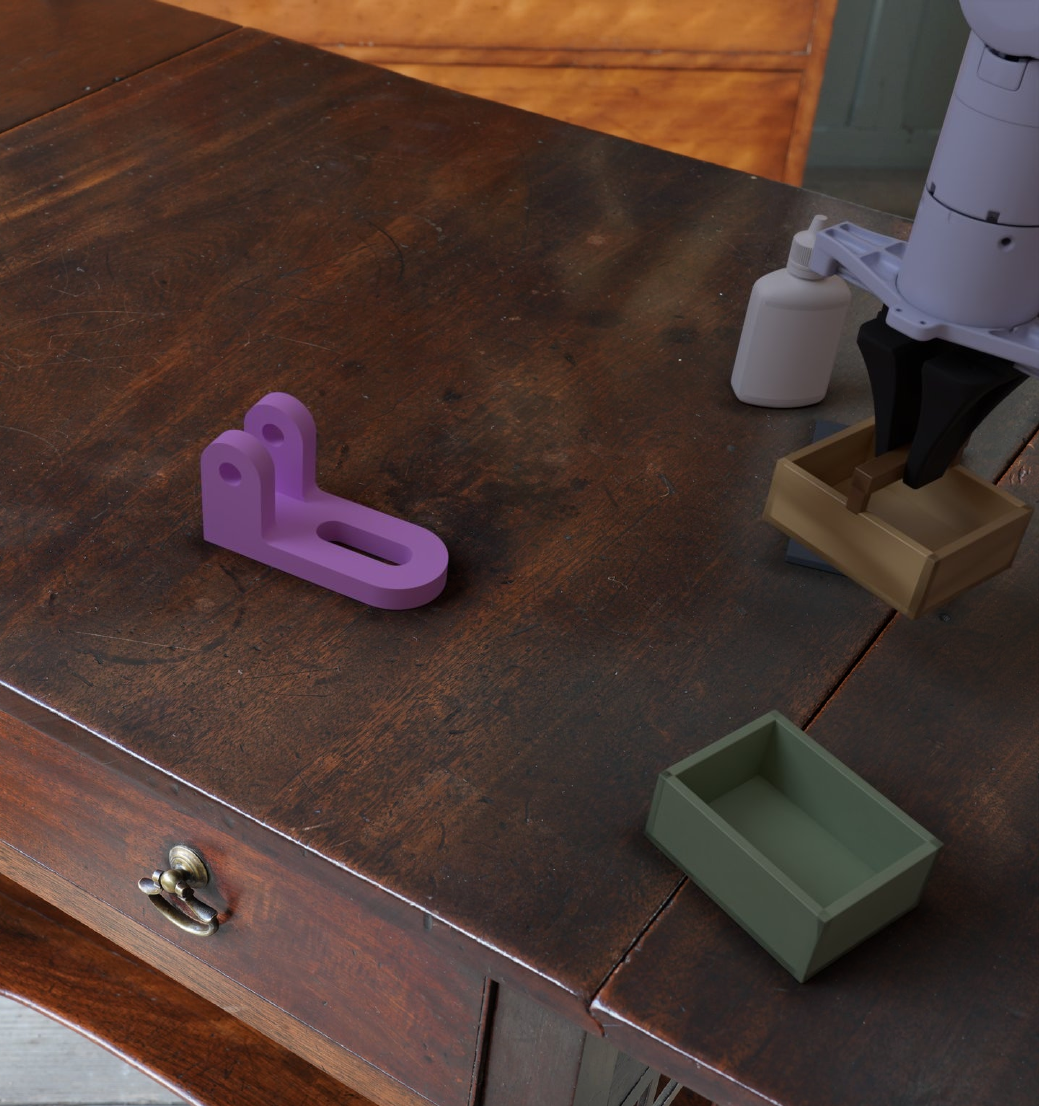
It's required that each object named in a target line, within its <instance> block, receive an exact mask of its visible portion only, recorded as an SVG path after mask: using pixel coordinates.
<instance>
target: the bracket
mask: <svg viewBox="0 0 1039 1106" xmlns="http://www.w3.org/2000/svg"><path fill="white" fill-rule="evenodd" d="M316 460H317V426H316V423H315V420H314V418H313V415H312V414H311V412H310V410H308V408H307V407H306V405H304V404H303V402H301V401H300V400H299V399H298V398H296V397H294V396H293V395H291V394H288V393H286V392H280V391H276V392H275V391H274V392H269V393H268V394H266V395H264V397H262V398H261V399H260V400H259V401H257V402H256V403H255V404H254V405H253V406H252V407H251V408H250V409H249V410H247V412H246V414H245V416H244V419H243V430H240V429H229V430H225V431H223V432H222V433H221V434H219V436H217V437H216V438H214V440H213V441H212V442H210V443H209V444H208V445H207V446H206V447H205V448H204V449H203V451H202V453H201V455H200V480H201V482H200V483H201V504H202V525H203V526H202V527H203V540H204V541H206V542H209V543H211V544H214V545H217V546H219V547H221V548H224V549H226V550H228V551H232V552H234V553H236V554H239V555H242V556H244V557H247V558H249V559H251V560H255V561H256V562H260V563H262V564H265V565H267V566H270V567H272V568H275V569H277V570H280V571H282V572H285V573H287V574H289V575H292V576H295V577H297V578H300V579H303V580H305V581H308V582H310V583H312V584H315V585H317V586H320V587H322V588H325V589H328V590H330V591H333V592H335V593H338V594H341V595H343V596H345V597H349V598H350V599H354V600H356V601H359V602H361V603H363V604H366V605H368V606H371V607H374V608H379V609H384V610H393V611H394V610H396V611H397V610H398V611H399V610H400V611H401V610H411V609H414V608H415V609H416V608H418V607H422V606H425V605H426V604H428V603H430V602H432V601H433V600H435V599H436V598H437V597H438V596H440V595H441V594H442V593H443V590H444V589H445V586H446V584H447V578H448V567H449V565H448V564H449V551H448V548H447V547H446V545H445V543H444V541H442V539H441V538H440V537H439V536H437V534H435V533H433V532H432V531H430V530H429V529H426V528H425V527H423V526H420V525H417V524H415V523H411V522H408V521H407V520H403V519H400V518H398V517H395V516H392V515H391V514H390V515H389V514H386V513H384V512H381V511H379V510H376V509H374V508H370V507H367V506H364V505H362V504H359V503H356V502H354V501H352V500H348V499H346V498H343V497H340V496H338V495H335V494H332V493H329V492H327V491H323V490H322V489H321V488H319V487H318V485H317V482H316V474H317V473H316V469H317V467H316V466H317V465H316V463H317V461H316ZM332 542H337V543H342V544H344V545H347V546H350V547H352V548H355V549H358V550H360V551H363V552H366V553H368V554H371V555H374V556H377V557H379V558H381V559H383V560H386V561H389V562H392V563H395V564H397V565H393V564H392V565H391V564H388V563H385V562H382V561H380V560H377V559H374V558H371V557H369V556H366V555H364V554H361V553H359V552H356V551H353V550H351V549H348V548H346V547H343V546H340V545H338V544H334V543H332Z"/></svg>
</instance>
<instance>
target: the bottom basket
mask: <svg viewBox="0 0 1039 1106" xmlns="http://www.w3.org/2000/svg"><path fill="white" fill-rule="evenodd" d="M655 782H656V783H655V787H654V791H653V795H652V799H651V804H650V807H649V812H648V816H647V820H646V824H645V829H644V833H643V836H645V837H646V839H647V840H648V841H650V842H651V843H652V844H653V846H655V847H656V849H658V850H659V851H660V852H661V853H662V854H664V855H665V857H667V858H668V859H669V860H670V861H671V862H672V863H673V864H674V865H675V866H676V867H677V868H678V869H679V870H680V871H681V872H682V873H684V875H686V876H687V877H688V878H689V879H690V880H691V881H692V882H693V883H694V884H695V885H696V886H697V887H698V888H699V889H700V890H701V891H703V892H704V893H705V894H706V895H707V896H708V897H709V898H710V899H711V900H712V901H713V902H714V903H715V904H716V905H717V906H718V907H719V908H721V909H722V911H724V912H725V913H726V914H727V915H728V916H730V918H731V919H732V920H733V921H734V922H735V923H736V924H738V926H739V927H741V928H742V930H744V932H746V933H747V934H748V935H749V936H750V937H751V938H753V940H755V941H756V943H758V944H759V946H760V947H762V948H763V949H764V950H765V951H766V952H767V953H768V954H769V955H770V956H771V957H773V958H774V960H776V961H777V962H778V963H779V964H780V965H781V967H783V968H784V969H785V970H786V971H787V972H789V973H790V975H791V976H793V978H795V980H797V981H798V983H800V984H804V983H805V982H807V981H809V980H810V979H812V978H813V977H814V976H816V975H817V974H819V973H820V972H822V971H824V970H825V969H826V968H828V967H829V966H830V965H832V964H834V963H835V962H837V961H838V960H839V959H841V958H842V957H844V956H846V955H847V954H848V953H850V952H851V951H853V950H854V949H856V948H857V947H859V946H860V945H862V944H863V943H865V942H866V941H868V940H869V939H871V938H872V937H874V936H875V935H877V934H878V933H880V932H881V931H883V930H884V929H886V928H887V927H889V926H891V924H893V923H894V922H896V921H897V920H899V919H900V918H902V917H904V916H905V915H906V914H908V913H909V912H911V911H912V910H914V909H915V908H917V907H918V906H919V903H920V901H921V899H922V896H923V894H924V892H925V890H926V887H927V885H928V883H929V880H930V878H931V877H932V874H933V872H934V869H935V867H936V865H937V863H938V860H939V858H940V856H941V853H942V851H943V849H944V847H945V843H944V842H942V841H941V840H940V839H939V838H938V837H936V836H935V835H934V834H933V833H931V832H930V831H928V830H927V829H926V828H925V827H924V826H923V825H921V824H920V823H918V821H916V820H914V818H912V817H911V816H910V815H908V814H907V813H906V812H905V811H903V810H902V809H901V808H899V806H897V805H896V804H895V803H894V802H892V801H891V800H890V799H889V798H887V797H886V796H885V795H883V794H882V793H881V792H880V791H878V789H876V788H875V787H873V786H872V785H870V783H868V782H867V780H865V779H863V777H861V776H860V775H858V774H857V773H856V772H855V771H853V770H852V769H851V768H850V767H849V766H847V765H846V764H844V763H843V762H842V761H841V760H839V758H837V757H836V756H835V755H833V754H832V753H831V752H830V751H829V750H827V749H826V748H825V747H823V746H822V745H821V744H819V743H818V742H817V741H816V740H815V739H813V738H812V737H811V736H809V734H807V733H806V732H805V731H803V730H802V729H801V728H800V727H798V726H797V725H796V724H795V723H793V722H792V721H791V720H790V719H788V718H787V717H786V716H785V715H783V714H782V713H780V712H779V711H778V710H777V709H775V708H774V709H773V710H770V711H769V712H767V713H765V714H763V715H761V716H760V717H758V718H756V719H754V720H752V721H751V722H748V723H747V724H745V725H744V726H741V727H740V728H738V729H736V730H735V731H733V732H730V733H729V734H727V735H725V736H723V737H722V738H720V739H718V740H716V741H714V742H712V743H711V744H709V745H708V746H705V747H703V748H702V749H700V750H698V751H696V752H694V753H692V754H691V755H688V756H687V757H686V758H684V759H681V760H680V761H678V762H676V763H675V764H673V765H671V766H669V767H667V768H665V769H664V770H662V771H660V772H658V774H657V778H656V781H655Z"/></svg>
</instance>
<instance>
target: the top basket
mask: <svg viewBox="0 0 1039 1106" xmlns="http://www.w3.org/2000/svg"><path fill="white" fill-rule="evenodd" d="M850 426H851V427H849V428H847V429H844V430H842V431H840V432H838V433H836V434H833V435H831V436H829V437H827V438H825V439H822V440H820V441H818V442H816V443H814V444H812V443H811V444H809V445H807V446H805V447H803V448H801V449H798V450H796V451H794V452H792V453H789V454H787V455H785V456H783V457H781V458H778V459H777V460H776V464H775V467H774V471H773V474H772V479H771V481H770V486H769V490H768V493H767V498H766V502H765V504H764V510H763V513H762V515H761V518H762V519H763V520H764V521H766V522H767V523H769V524H770V525H771V526H773V527H774V528H775V529H778V531H780V532H782V533H783V534H785V535H786V536H788V537H789V539H790V538H792V539H793V540H795V541H796V542H798V543H799V544H801V545H802V546H804V547H805V548H807V549H808V550H809V551H811V552H812V553H814V554H815V555H817V556H818V557H820V558H821V559H823V560H824V561H825V562H827V563H828V564H830V565H831V566H833V567H834V568H836V569H837V570H839V571H840V572H842V573H843V574H844V575H843V576H845V575H846V577H848V578H849V579H850V580H852V581H853V582H855V584H857V585H859V586H861V587H862V588H863V589H864V590H866V591H868V592H869V593H871V594H872V595H874V596H875V597H876V598H877V599H880V600H881V601H882V602H884V603H885V604H887V605H888V606H889V607H891V608H893V609H894V610H896V611H897V612H898V613H900V614H901V615H903V616H904V617H906V618H907V619H908V620H910V621H911V622H915V621H917V620H919V619H920V618H922V617H924V616H926V615H928V614H930V613H932V612H933V611H936V610H937V609H939V608H940V607H943V606H944V605H946V604H948V603H949V602H951V601H953V600H955V599H957V598H959V597H960V596H962V595H964V594H966V593H968V592H969V591H971V590H973V589H975V588H976V587H978V586H980V585H982V584H984V583H985V582H988V581H989V580H991V579H992V578H995V577H996V576H997V575H1000V574H1002V573H1003V572H1005V571H1007V570H1009V569H1011V568H1012V565H1013V563H1014V561H1015V559H1016V556H1017V553H1018V551H1019V548H1020V547H1021V544H1022V541H1023V539H1024V536H1025V534H1026V531H1027V529H1028V526H1029V525H1030V523H1031V522H1030V521H1031V520H1032V517H1033V514H1034V512H1035V511H1036V510H1035V509H1036V508H1035V507H1033V506H1031V504H1028V503H1027V502H1025V501H1023V500H1022V499H1019V498H1018V497H1016V496H1015V495H1012V494H1011V493H1009V492H1008V491H1006V490H1004V489H1002V488H1001V487H999V486H997V485H996V484H994V483H993V482H990V481H989V480H987V479H985V478H984V477H982V476H981V475H979V474H977V473H975V472H973V471H972V470H970V469H968V468H966V467H965V466H963V465H961V464H960V462H961V459H962V457H963V453H964V451H965V449H967V448H968V447H969V446H968V445H969V443H970V440H971V437H972V435H973V433H972V434H971V435H970V437H969V438H968V439H967V440H966V442H965V443H964V444H963V446H962V447H961V448H960V450H959V451H958V453H957V454H956V456H955V457H954V459H953V460H952V462H951V463H950V465H949V466H948V468H947V470H946V471H945V473H944V475H943V476H942V477H941V478H939V479H937V480H935V481H933V482H931V483H929V484H927V485H925V486H923V487H921V488H919V489H917V490H916V489H912V488H910V487H909V486H907V485H906V484H904V483H903V478H904V470H905V465H906V461H907V458H908V455H909V452H910V449H911V446H912V443H913V440H912V441H910V442H908V443H906V444H904V445H902V446H900V447H898V448H895V449H893V450H891V451H889V452H887V453H885V454H883V455H881V456H879V457H876V458H875V415H873V416H870V417H868V418H867V419H864V420H862V421H861V422H858V423H855V424H853V425H850Z"/></svg>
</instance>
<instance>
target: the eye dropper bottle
mask: <svg viewBox="0 0 1039 1106" xmlns="http://www.w3.org/2000/svg"><path fill="white" fill-rule="evenodd" d="M826 228H828V217H827V215H824V214H816V215H815V216H814V217H813V219H812V221H811V223H810V225H809V228H808V229H806V230H801V231H798V232H796V233H795V234H794V235H793V237H792V242H791V246H790V251H789V255H788V259H787V263H786V267H783V268H779V269H777V270H774V271H771V272H769V273H767V274H764V275H763V276H761V277H759V278H758V279H757V280H756V281H755V282H754V284H753V286H752V289H751V292H750V297H749V301H748V304H747V308H746V314H745V318H744V321H743V326H742V330H741V335H740V338H739V343H738V347H737V352H736V357H735V360H734V364H733V369H732V373H731V379H730V385H731V388H732V390H733V393H734V394H735V396H736V398H737V399H738V400H739V401H740V402H742V403H745V404H749V405H753V406H758V407H765V408H776V409H789V408H800V407H805V406H806V407H807V406H810V405H814V404H817V403H820V402H821V401H822V400H823V399H824V398H825V397H826V394H827V391H828V389H829V384H830V381H831V378H832V373H833V370H834V366H835V362H836V360H837V359H836V358H837V356H838V352H839V349H840V346H841V345H840V344H841V341H842V337H843V333H844V329H845V327H846V323H847V319H848V315H849V311H850V306H851V302H852V292H851V290H850V288H849V285H848V283H846V280H845V279H843V278H841V277H839V276H837V275H833V276H831V277H823V276H820V275H818V274H817V273H815V272H813V271H811V270H809V269H808V268H809V264H810V260H811V256H812V252H813V248H814V244H815V240H816V236H817V232H818V231H821V230H824V229H826Z"/></svg>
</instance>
